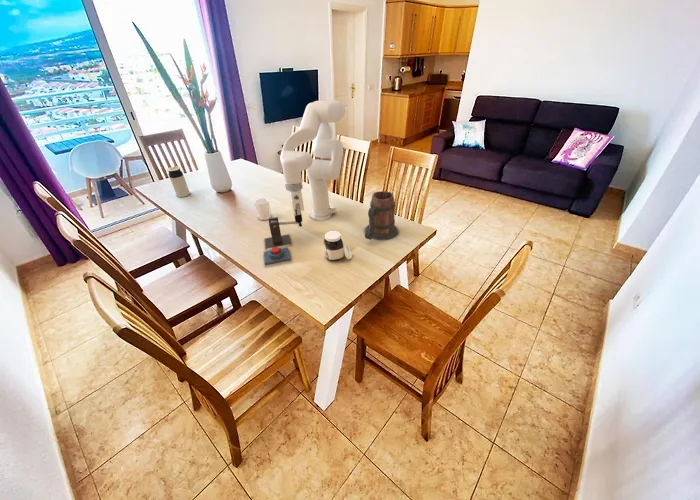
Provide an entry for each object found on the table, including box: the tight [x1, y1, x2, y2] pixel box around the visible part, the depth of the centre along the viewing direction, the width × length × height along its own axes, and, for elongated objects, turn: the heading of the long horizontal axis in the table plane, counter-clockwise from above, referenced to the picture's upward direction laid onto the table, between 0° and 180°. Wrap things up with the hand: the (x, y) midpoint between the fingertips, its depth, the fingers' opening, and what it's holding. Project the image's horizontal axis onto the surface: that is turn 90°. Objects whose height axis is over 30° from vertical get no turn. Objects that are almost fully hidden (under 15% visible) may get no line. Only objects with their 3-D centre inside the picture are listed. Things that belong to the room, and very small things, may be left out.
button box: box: [263, 247, 291, 266], centre depth 133 cm, size 11×9×4 cm
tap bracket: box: [264, 216, 292, 249], centre depth 141 cm, size 12×9×13 cm
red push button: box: [270, 246, 280, 254], centre depth 132 cm, size 4×4×2 cm
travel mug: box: [166, 165, 191, 198], centre depth 190 cm, size 8×8×18 cm
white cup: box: [253, 197, 272, 221], centre depth 164 cm, size 8×8×10 cm
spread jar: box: [323, 230, 353, 262], centre depth 131 cm, size 12×11×12 cm
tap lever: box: [271, 220, 303, 228], centre depth 140 cm, size 14×6×2 cm, turn 107°
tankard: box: [364, 190, 399, 241], centre depth 144 cm, size 24×17×20 cm
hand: (298, 221), depth 142 cm, fingers closed
